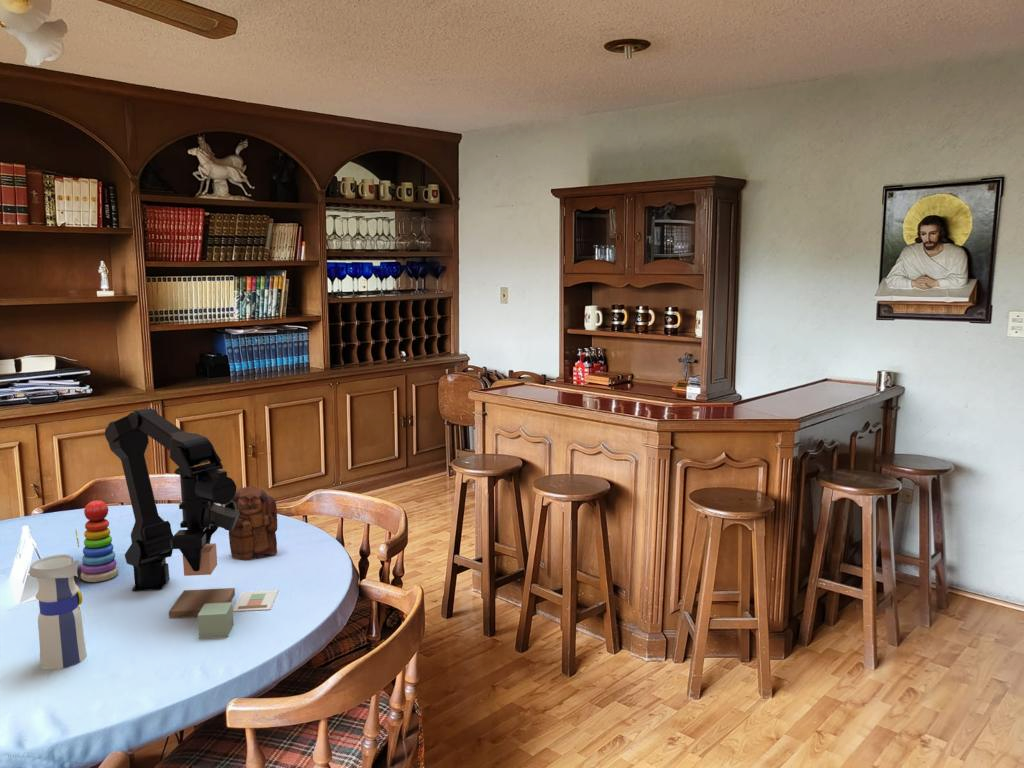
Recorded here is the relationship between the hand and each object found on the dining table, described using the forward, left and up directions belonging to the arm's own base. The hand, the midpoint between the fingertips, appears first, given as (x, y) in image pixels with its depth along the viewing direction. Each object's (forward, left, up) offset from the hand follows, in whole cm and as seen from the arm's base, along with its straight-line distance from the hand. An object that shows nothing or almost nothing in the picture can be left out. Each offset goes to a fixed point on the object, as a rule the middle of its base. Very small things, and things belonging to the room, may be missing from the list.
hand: (200, 565), depth 171 cm
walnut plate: (0, 0, -9) cm, 9 cm away
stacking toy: (-29, +20, -9) cm, 36 cm away
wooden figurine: (+5, +30, -9) cm, 32 cm away
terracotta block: (0, 0, -1) cm, 1 cm away
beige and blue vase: (-20, -21, -9) cm, 30 cm away
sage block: (+6, -13, -9) cm, 17 cm away
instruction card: (+11, +1, -9) cm, 14 cm away
